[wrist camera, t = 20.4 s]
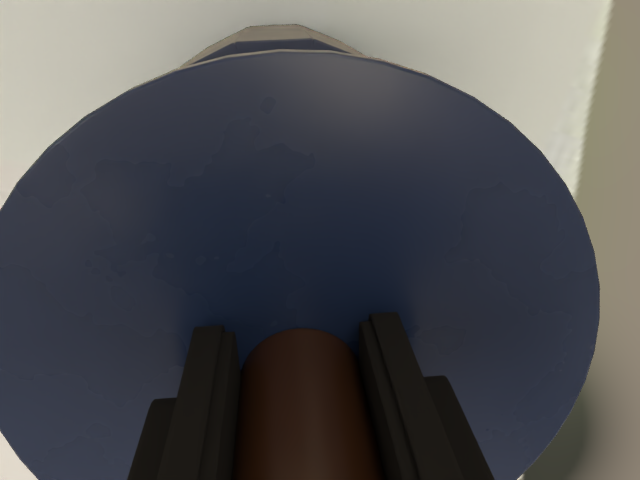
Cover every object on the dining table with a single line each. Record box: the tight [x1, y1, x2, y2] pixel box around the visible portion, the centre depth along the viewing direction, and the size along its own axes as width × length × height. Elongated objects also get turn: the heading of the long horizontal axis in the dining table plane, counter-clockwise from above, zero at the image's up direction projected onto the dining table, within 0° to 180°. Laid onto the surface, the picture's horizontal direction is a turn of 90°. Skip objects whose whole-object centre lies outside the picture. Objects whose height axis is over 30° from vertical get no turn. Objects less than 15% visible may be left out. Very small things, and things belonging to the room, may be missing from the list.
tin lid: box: [0, 49, 600, 480], centre depth 9 cm, size 12×12×6 cm
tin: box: [179, 24, 365, 68], centre depth 22 cm, size 11×11×10 cm
